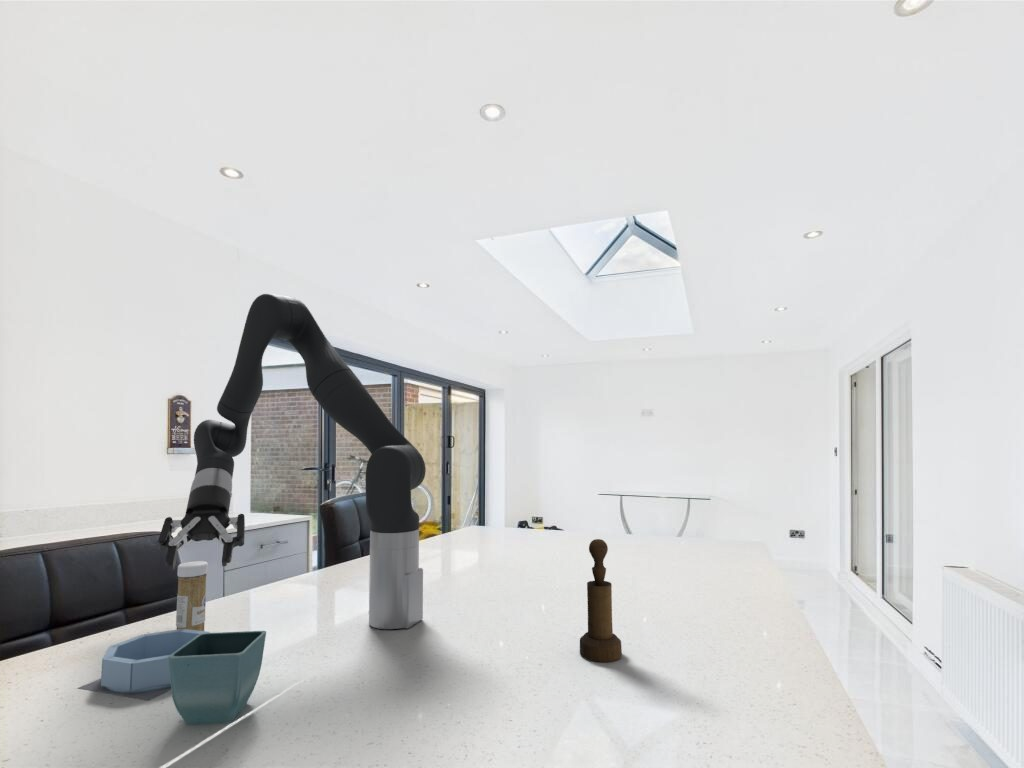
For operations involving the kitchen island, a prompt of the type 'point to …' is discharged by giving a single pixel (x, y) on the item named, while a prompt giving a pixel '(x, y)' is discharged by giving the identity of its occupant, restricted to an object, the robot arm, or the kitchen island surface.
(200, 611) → the sprinkles bottle
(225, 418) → the robot arm
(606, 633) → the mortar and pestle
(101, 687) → the mat
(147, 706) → the kitchen island surface
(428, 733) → the kitchen island surface
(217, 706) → the flower pot
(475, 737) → the kitchen island surface
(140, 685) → the bowl
